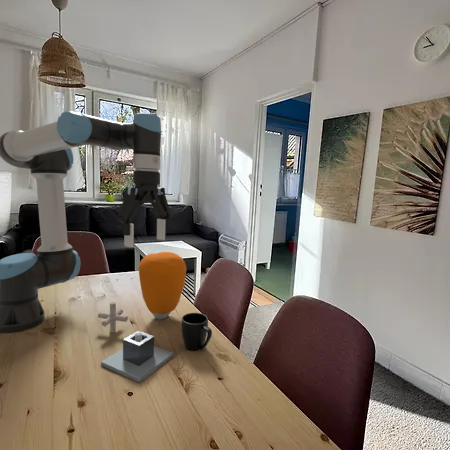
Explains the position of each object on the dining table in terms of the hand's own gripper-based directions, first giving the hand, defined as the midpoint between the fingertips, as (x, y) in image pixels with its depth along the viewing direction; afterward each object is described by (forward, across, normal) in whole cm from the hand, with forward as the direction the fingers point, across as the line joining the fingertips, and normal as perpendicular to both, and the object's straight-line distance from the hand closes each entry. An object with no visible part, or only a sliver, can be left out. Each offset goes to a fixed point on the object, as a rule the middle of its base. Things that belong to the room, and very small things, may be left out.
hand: (145, 243), depth 91 cm
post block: (+33, -7, -4) cm, 34 cm away
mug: (+33, +7, -15) cm, 37 cm away
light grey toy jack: (+33, +1, +15) cm, 36 cm away
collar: (+32, -7, -4) cm, 33 cm away
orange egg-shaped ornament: (+33, +18, +8) cm, 38 cm away
